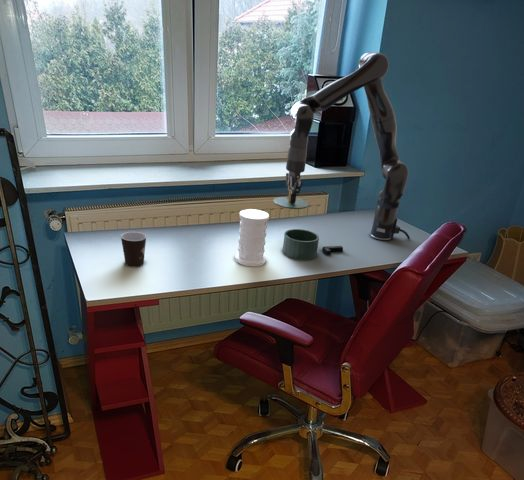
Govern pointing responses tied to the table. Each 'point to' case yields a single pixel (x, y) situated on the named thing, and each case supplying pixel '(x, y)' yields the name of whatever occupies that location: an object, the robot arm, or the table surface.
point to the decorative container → (252, 237)
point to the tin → (300, 244)
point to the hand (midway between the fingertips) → (291, 201)
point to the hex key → (332, 249)
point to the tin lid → (287, 204)
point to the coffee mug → (133, 248)
